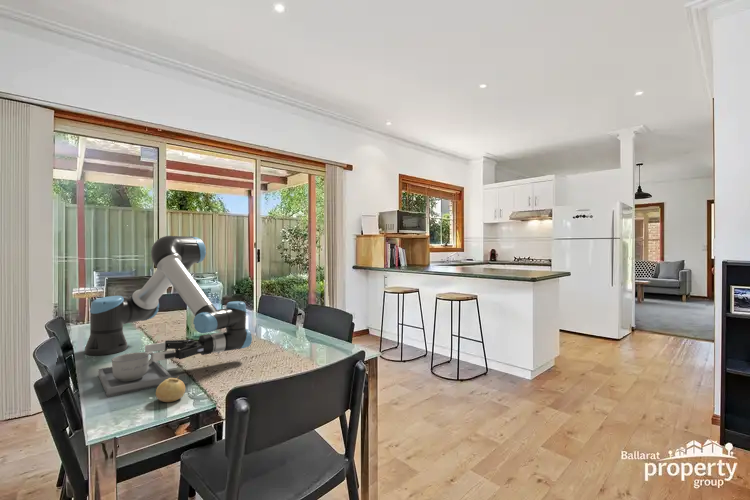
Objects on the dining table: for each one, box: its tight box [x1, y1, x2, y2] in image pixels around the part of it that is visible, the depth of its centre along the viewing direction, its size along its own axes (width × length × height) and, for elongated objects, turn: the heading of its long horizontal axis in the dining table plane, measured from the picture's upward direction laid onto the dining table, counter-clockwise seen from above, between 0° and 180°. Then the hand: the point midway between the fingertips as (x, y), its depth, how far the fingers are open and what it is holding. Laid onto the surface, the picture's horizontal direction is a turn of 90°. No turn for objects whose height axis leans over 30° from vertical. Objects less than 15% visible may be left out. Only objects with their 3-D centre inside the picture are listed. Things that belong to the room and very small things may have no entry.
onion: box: [155, 376, 186, 403], centre depth 114 cm, size 8×8×7 cm
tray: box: [97, 361, 173, 398], centre depth 130 cm, size 24×18×2 cm
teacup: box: [111, 351, 154, 382], centre depth 129 cm, size 14×11×8 cm
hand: (148, 353), depth 132 cm, fingers open, 13 cm apart
